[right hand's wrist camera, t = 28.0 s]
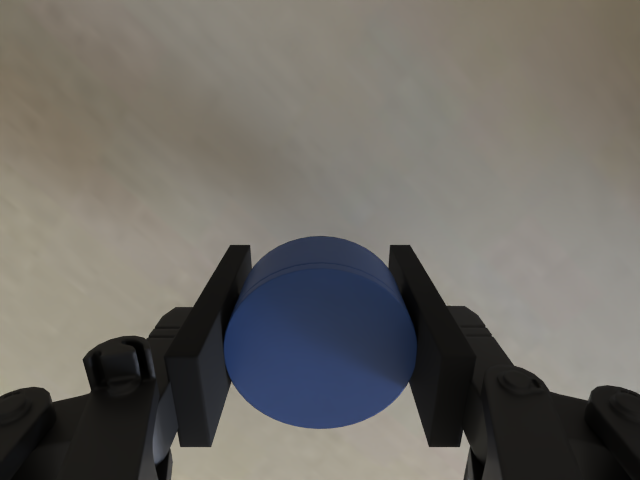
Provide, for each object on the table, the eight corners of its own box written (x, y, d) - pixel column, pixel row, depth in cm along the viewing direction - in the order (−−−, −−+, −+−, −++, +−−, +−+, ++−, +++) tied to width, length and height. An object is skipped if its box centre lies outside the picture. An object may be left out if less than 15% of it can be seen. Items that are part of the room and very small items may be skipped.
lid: (246, 224, 11) (229, 255, 9) (417, 248, 12) (440, 283, 10) (234, 365, 13) (217, 418, 11) (382, 382, 14) (394, 438, 11)
